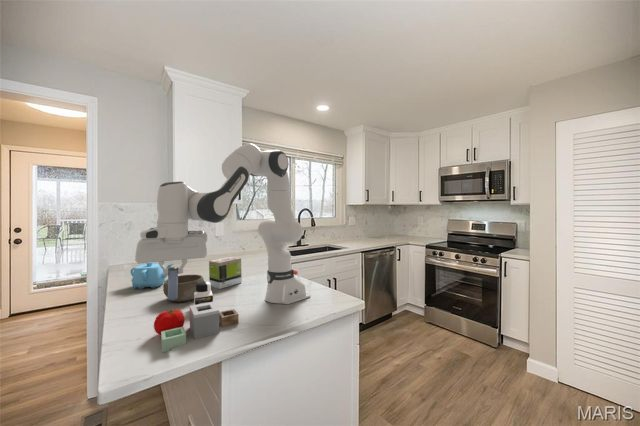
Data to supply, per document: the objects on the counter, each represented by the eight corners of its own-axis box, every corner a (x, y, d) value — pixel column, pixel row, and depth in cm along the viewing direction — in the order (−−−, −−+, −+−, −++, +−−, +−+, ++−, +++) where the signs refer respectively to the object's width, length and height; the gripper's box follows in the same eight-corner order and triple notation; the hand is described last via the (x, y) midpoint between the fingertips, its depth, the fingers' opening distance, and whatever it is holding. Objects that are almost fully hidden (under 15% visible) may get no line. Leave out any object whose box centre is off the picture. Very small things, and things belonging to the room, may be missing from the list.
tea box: (231, 280, 164) (231, 256, 164) (242, 283, 158) (242, 258, 158) (208, 286, 152) (208, 260, 152) (219, 289, 146) (219, 262, 146)
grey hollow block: (212, 324, 103) (212, 301, 102) (219, 335, 94) (219, 310, 94) (189, 330, 98) (189, 305, 98) (194, 341, 90) (194, 315, 90)
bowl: (155, 301, 128) (155, 280, 127) (189, 290, 143) (189, 272, 143) (179, 307, 120) (178, 285, 119) (211, 296, 135) (211, 276, 135)
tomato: (148, 340, 90) (148, 316, 90) (164, 327, 101) (164, 304, 100) (177, 340, 91) (176, 315, 91) (190, 326, 101) (189, 304, 101)
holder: (233, 320, 107) (233, 308, 107) (238, 325, 102) (238, 314, 102) (218, 323, 104) (218, 312, 104) (222, 329, 99) (222, 317, 99)
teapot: (138, 293, 139) (138, 267, 139) (126, 286, 149) (126, 262, 149) (174, 285, 154) (174, 261, 153) (162, 279, 164) (162, 257, 163)
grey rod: (177, 296, 89) (177, 266, 89) (178, 299, 87) (178, 268, 87) (167, 297, 88) (167, 267, 88) (168, 300, 85) (168, 269, 85)
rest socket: (183, 338, 92) (183, 326, 92) (186, 346, 87) (186, 334, 87) (161, 343, 89) (161, 331, 89) (162, 352, 83) (162, 339, 83)
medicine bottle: (194, 314, 113) (194, 285, 113) (194, 308, 119) (194, 281, 119) (213, 311, 116) (213, 283, 116) (211, 305, 122) (211, 279, 122)
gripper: (205, 229, 95) (205, 268, 96) (135, 232, 84) (135, 276, 84) (209, 230, 90) (209, 272, 90) (135, 233, 79) (135, 280, 79)
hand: (173, 274), depth 87 cm, fingers closed on grey rod, 3 cm apart
